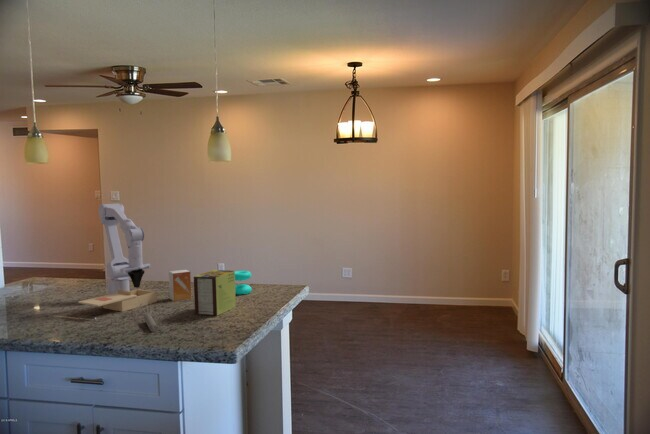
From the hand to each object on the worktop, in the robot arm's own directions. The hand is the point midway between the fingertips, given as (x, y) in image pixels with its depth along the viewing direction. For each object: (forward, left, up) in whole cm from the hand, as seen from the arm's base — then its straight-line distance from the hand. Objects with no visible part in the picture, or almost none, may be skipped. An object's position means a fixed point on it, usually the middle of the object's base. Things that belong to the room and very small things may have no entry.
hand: (136, 287), depth 220 cm
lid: (0, -15, -2) cm, 15 cm away
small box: (+11, +14, -8) cm, 20 cm away
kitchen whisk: (+26, -17, -8) cm, 32 cm away
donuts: (+27, +37, -8) cm, 47 cm away
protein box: (+38, +7, -8) cm, 40 cm away
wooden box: (0, -4, -8) cm, 8 cm away
